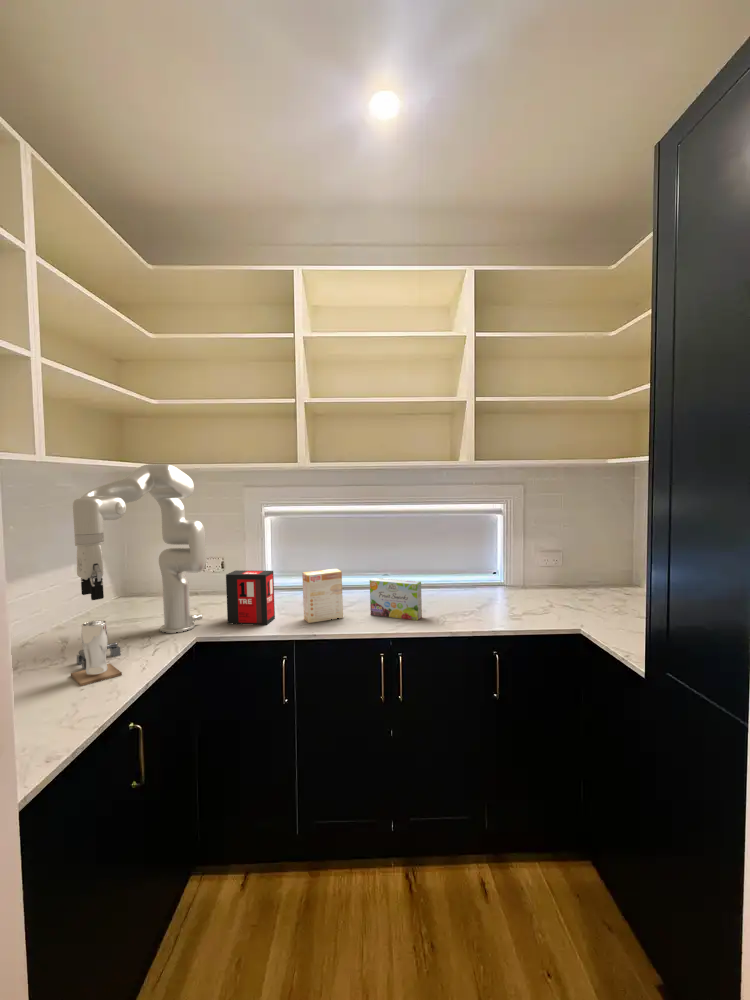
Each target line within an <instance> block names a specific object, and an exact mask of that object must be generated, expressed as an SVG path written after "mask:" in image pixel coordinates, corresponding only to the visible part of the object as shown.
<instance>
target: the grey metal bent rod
mask: <svg viewBox="0 0 750 1000" xmlns="http://www.w3.org/2000/svg"><path fill="white" fill-rule="evenodd" d="M118 644H119V643H117V642H111V643H108V645H107V650H108V649H109V652H110V656H111V657H112V656H114V657H118V656H117V655H119V656H121V646H120V645H118ZM76 664H77V665H78V666H81V667H82V669H83V670H86V658H85V654H84V650H83V649H80V650H79V651H78V654H76ZM81 664H82V665H81Z"/></svg>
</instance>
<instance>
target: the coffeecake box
mask: <svg viewBox="0 0 750 1000" xmlns="http://www.w3.org/2000/svg"><path fill="white" fill-rule="evenodd" d="M301 573H302V601H303V602H302V603H303V620H304V621H306V622H307V623H308V624H312V623H317V622H318V623H319V622H325V621H332V620H337V618H339V619H344V605H343V604H344V603H343V601H344V599H343V571H342V570H340V569H339V568H330V569H322V570H313V571H303V572H301ZM331 619H332V620H331Z"/></svg>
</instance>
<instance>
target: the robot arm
mask: <svg viewBox="0 0 750 1000" xmlns="http://www.w3.org/2000/svg"><path fill="white" fill-rule="evenodd" d="M194 490H195V484H194V481H193V478H191V477H190V476H189V475H188V474H186V472H184V471H182V470H181V469H180V468H179V467H176V466H174V465H172V464H169V463H156V464H154V463H153V464H152V463H151V464H143V465H141V466H139V467H138V468H137V469H135V470H133V471H132V472H130V473H129V474H128V475H126V476H125V477H123V478H121V479H118V480H115V481H112V482H110V483H107V484H103V485H101V486H98V487H96V488H93V489H91V490H90V491H88V492H87V493H85V494H83V495H81V497H79V498H76V499H74V500H73V502H72V514H73V515H72V516H73V518H72V519H73V531H74V532H73V533H74V534H73V535H74V546H76V576H78V577H79V578H80V581H81V582H80V588H81V589H80V590H81V595H82V596H85V595H86V596H87V595H90V600H91V601H96V600H104V597H105V596H104V582H103V580H104V579H103V577H104V561H103V560H104V559H103V549H102V545H104V544H105V536H104V521H116V520H119V519H120V518H122V517H123V516H124V515H125V514H126V511H127V504H129V503H133V502H137V501H138V500H140V499H142V498H143V497H145V496H146V495H147V494H148V493H149V495H150V496H151V497H153V498H154V500H155V501H156V502H157V503H158V506H159V507H160V513H161V514H160V515H161V535H162V540H163V542H164V543H166V545H167V544H168V545H173V546H174V545H176V546H177V545H179V546H180V545H188V546H189V547H168V548H166V549H164V550H162V551H161V552H160V554H159V556H158V566H159V569H160V574H161V580H162V581H161V582H162V597H163V598H162V599H163V601H162V602H163V604H162V605H163V625H161V626H160V627H159V630H160V631H159V632H161V631H162V632H161V633H164V632H166V634H175V633H176V632H178V633H183V631H184V632H187V630H188V631H190V630H193V629H194V628H195V627H196V625H195V621H201V620H203V614H197V615H196V614H194V615H193V614H191V605H190V603H191V602H190V583H189V579H188V578H187V576H186V575H185V574H187V573H188V574H189V573H190V574H192V573H193V574H194V573H195V574H196V573H201V572H202V571H203V570H204V569H205V568H206V565H207V564H206V563H207V552H206V551H207V548H206V545H207V544H206V529H205V526H204V524H203V523H202V522H201V521H200V520H197V519H186V511H185V505H184V503H183V502H182V500H181V499H186V498H189V497H191V496H192V495H193V494H194ZM176 634H177V633H176Z"/></svg>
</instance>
